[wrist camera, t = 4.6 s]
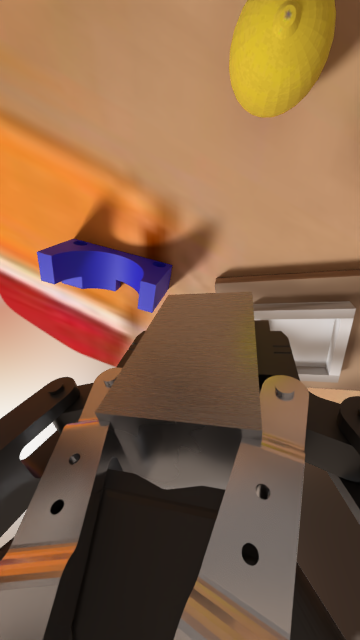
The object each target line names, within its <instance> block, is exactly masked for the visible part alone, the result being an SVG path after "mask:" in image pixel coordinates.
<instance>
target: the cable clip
mask: <svg viewBox="0 0 360 640" xmlns="http://www.w3.org/2000/svg"><path fill="white" fill-rule="evenodd" d="M37 255H38V262H39V268H40V275H41V281H45V282H48V283H52V284H56V283H58V282H61V281H62V283H64V284H68V285H71V286H75V287H78V288H81V289H86V288H99V289H107V290H112V291H116V290H118V289H119V288H120V284H121V282H123V283H126V284H128V285H130V286H131V287H133V288H134V289H135V290H136V291H137V292H138V293H139V301H138V309H141V310H144V311H148V312H151V313H152V312H153V311H154V309H155V308H156V306H157V305H158V303H159V302H160V301H161V299H162V298H163V296H164V295H165V293H166V292H167V290H168V288H169V282H170V276H171V271H172V265H170V264H166V263H163V262H159V261H155V260H151V259H148V258H144V257H140V256H137V255H133V254H129V253H125V252H122V251H118V250H114V249H111V248H107V247H103V246H99V245H96V244H92V243H88V242H84V241H81V240H77V239H71V240H69V241H66V242H63V243H60V244H57V245H55V246H52V247H49V248H46V249H44V250H41V251H38V252H37Z"/></svg>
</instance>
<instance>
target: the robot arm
mask: <svg viewBox="0 0 360 640" xmlns="http://www.w3.org/2000/svg"><path fill="white" fill-rule="evenodd" d="M254 323H255V337H256V351H257V365H258V378H259V392H260V406H261V420H262V440H260V439H255V438H249V437H242V440H241V443H240V446H239V449H238V452H237V455H236V459H235V462H234V465H233V468H232V471H231V474H230V478H229V481H228V484H227V487H226V490H224V489H219V488H213V487H208V486H194V487H185V488H177V489H162V488H160V487H159V486H157V485H155V484H153V483H151V482H149V481H148V480H146V479H144V478H142V477H140V476H139V475H137V474H135V473H134V472H133V470H132V468H131V466H130V464H129V461H128V459H127V457H126V455H125V453H124V450H123V448H122V446H121V444H120V441H119V439H118V437H117V435H116V433H115V430H114V428H113V426H112V424H111V422H110V421H99V420H98V418H97V416H96V414H95V412H96V410H97V408H98V407H99V405H100V404H101V402H102V400H103V399H104V397H105V396H106V394H107V392H108V391H109V389H110V388H111V386H112V384H113V383H114V381H115V380H116V378H117V376H118V375H119V373H120V372H121V370H122V368H123V367H124V365H125V364H126V362H127V360H128V359H129V357H130V356H131V354H132V352H133V351H134V349H135V348H136V346H137V344H138V343H139V341H140V340H141V338H142V336H143V335H144V333H145V332H146V331H143V332H142V333H141V334H139V335H138V336H137V337H136V338H135V340H134V341H133V343H132V344H131V346H130V347H129V350H127V352H126V353H125V355H124V356H123V358H122V359H121V361H120V362H119V364H118V366H117V367H116V368H112V369H109V370H106V371H105V372H103V373H101V374H100V375H99V376H98V377H97V378H96V380H95V381H94V383H91V384H85V385H81V386H77V385H76V383H75V381H74V380H73V379H72V378H70V377H63V378H59V379H56V380H54V381H52V382H50V383H49V384H47V385H46V386H44V387H43V388H42V389H40V390H39V391H38V392H37V393H35V394H34V395H32V396H31V397H29V398H28V399H27V400H25V401H24V402H23V403H21V404H20V405H19V406H17V407H16V408H15V409H13V410H12V411H11V412H9V413H8V414H7V415H5V416H4V417H2V418H1V419H0V537H1V536H2V535H3V534H4V533H5V532H6V531H7V530H8V529H9V528H10V527H11V525H12V524H13V523H14V522H15V521H16V520H17V519H18V518H19V517H20V516H21V515H22V514H23V513H24V512H25V510H26V509H27V511H26V513H25V515H24V517H23V519H22V522H21V524H20V526H19V528H18V531H17V533H16V535H15V537H14V538H12V539H11V540H10V541H9V542H7V543H6V544H5V545H4V546H2V547H1V548H0V640H346V639H345V637H344V636H343V634H342V633H341V631H340V630H339V628H338V626H337V625H336V623H335V622H334V620H333V619H332V617H331V615H330V614H329V612H328V611H327V609H326V607H325V606H324V604H323V603H322V601H321V599H320V598H319V596H318V595H317V593H316V592H315V590H314V589H313V587H312V585H311V584H310V582H309V580H308V579H307V577H306V576H305V574H304V573H303V571H302V569H301V568H300V566H299V565H298V563H297V561H296V560H297V548H298V536H299V524H300V513H301V499H302V489H303V476H304V464H305V462H307V463H309V464H312V465H314V466H316V467H318V468H321V469H323V470H325V471H327V472H328V474H329V476H330V477H331V479H332V481H333V482H334V484H335V485H336V487H337V489H338V490H339V492H340V493H341V495H342V497H343V498H344V500H345V501H346V503H347V505H348V506H349V508H350V510H351V511H352V513H353V515H354V516H355V518H356V519H357V521H358V523H359V524H360V396H355V397H349V398H347V399H345V400H344V401H343V402H342V403H341V404H339V403H336V402H332V401H329V400H325V399H323V398H320V397H318V396H315V395H314V394H312V393H310V392H309V391H308V389H307V388H306V386H305V385H304V384H303V383H302V382H300V379H299V375H298V372H297V368H296V364H295V361H294V357H293V354H292V350H291V347H290V342H289V339H288V337H287V336H286V335H285V334H284V333H283V332H282V331H270V326H269V321H268V320H254ZM52 422H53V424H54V425H55V427H56V428H57V431H56V432H55V433H54V434H53V435H52V436H50V437H49V438H48V439H47V440H46V441H45V442H44V443H43V444H42V445H41V446H39V447H38V448H37V449H36V450H35V451H34V452H33V453H32V454H31V455H30V456H28V457H27V458H26V459H24V460H20V459H19V455H20V452H21V450H22V449H23V448H24V446H25V445H27V444H28V443H29V442H30V441H31V440H32V439H33V438H35V437H36V436H37V435H38V434H39V433H40V432H41V431H43V430H44V429H45V428H46V427H47V426H48V425H49V424H51V423H52Z"/></svg>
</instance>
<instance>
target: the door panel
mask: <svg viewBox="0 0 360 640" xmlns="http://www.w3.org/2000/svg"><path fill="white" fill-rule="evenodd" d="M215 290H216V293H229V292H252V296H253V309H254V320H268V321H269V326H270V331H282V332H283V333H284V334H285V335H286V336H287V337H288V339H289V342H290V347H291V350H292V354H293V357H294V361H295V364H296V368H297V372H298V375H299V379H300V382H302V383H303V384H304V385H305V386H306V388H322V389H339V390H356V391H360V270H343V271H327V272H310V273H294V274H277V275H260V276H244V277H227V278H216V282H215Z"/></svg>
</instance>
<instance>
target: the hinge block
mask: <svg viewBox="0 0 360 640" xmlns="http://www.w3.org/2000/svg"><path fill="white" fill-rule="evenodd" d="M95 414H96V416H97V418H98V420H99V421H110V422H111V424H112V426H113V428H114V430H115V433H116V435H117V437H118V439H119V441H120V444H121V446H122V448H123V450H124V453H125V455H126V457H127V459H128V461H129V464H130V466H131V468H132V470H133V472H134V473H135V474H137V475H139V476H140V477H142V478H144V479H146V480H148V481H149V482H151V483H153V484H155V485H157V486H159V487H160V488H162V489H177V488H185V487H194V486H208V487H213V488H219V489H224V490H226V487H227V484H228V481H229V478H230V474H231V471H232V468H233V465H234V462H235V459H236V455H237V452H238V449H239V446H240V443H241V440H242V437H249V438H255V439H260V440H262V420H261V406H260V392H259V378H258V365H257V351H256V337H255V323H254V309H253V296H252V292H229V293H206V294H182V295H168V297H167V298H166V300H165V301H164V303H163V305H162V306H161V308H160V309H159V311H158V313H157V314H156V316H155V317H154V319H153V320H152V322H151V324H150V325H149V327H148V328H147V330H146V332H145V333H144V335H143V336H142V338H141V340H140V341H139V343H138V344H137V346H136V348H135V349H134V351H133V352H132V354H131V356H130V357H129V359H128V360H127V362H126V364H125V365H124V367H123V368H122V370H121V372H120V373H119V375H118V376H117V378H116V380H115V381H114V383H113V384H112V386H111V388H110V389H109V391H108V392H107V394H106V396H105V397H104V399H103V400H102V402H101V404H100V405H99V407H98V408H97V410H96V412H95Z"/></svg>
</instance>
